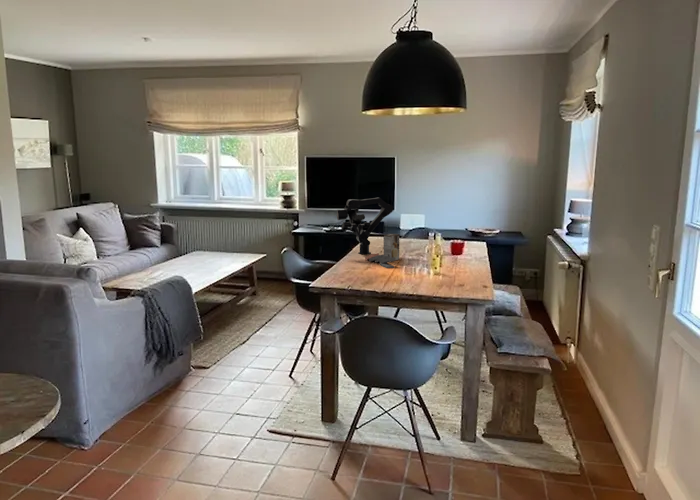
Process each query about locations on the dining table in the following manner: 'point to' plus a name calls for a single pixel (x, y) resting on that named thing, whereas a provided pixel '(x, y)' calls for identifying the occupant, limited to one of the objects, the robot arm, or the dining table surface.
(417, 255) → the dining table surface
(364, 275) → the dining table surface
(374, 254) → the loose domino
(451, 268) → the dining table surface
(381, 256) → the domino
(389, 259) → the domino
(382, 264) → the domino
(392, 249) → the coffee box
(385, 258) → the domino
